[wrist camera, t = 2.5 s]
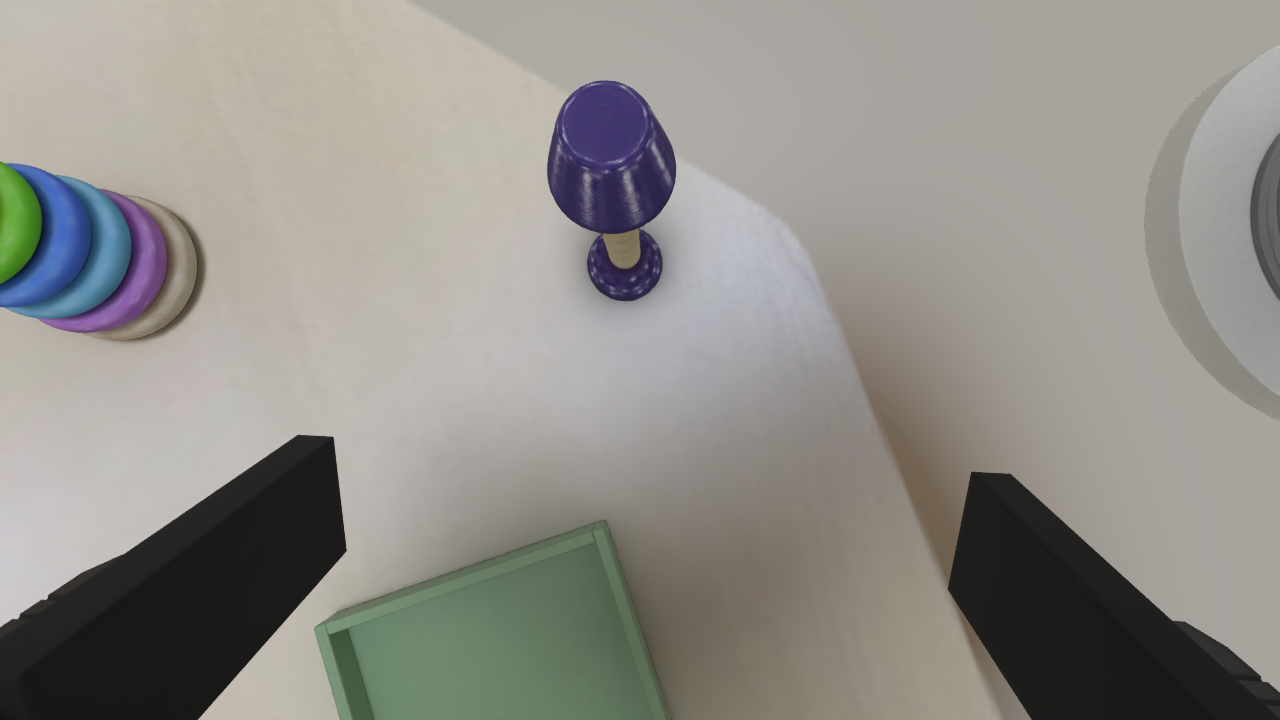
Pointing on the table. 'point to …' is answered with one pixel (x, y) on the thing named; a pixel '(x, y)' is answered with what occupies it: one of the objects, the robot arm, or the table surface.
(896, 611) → the table surface
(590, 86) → the toy lamp
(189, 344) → the table surface
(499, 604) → the green tray
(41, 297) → the stacking toy
